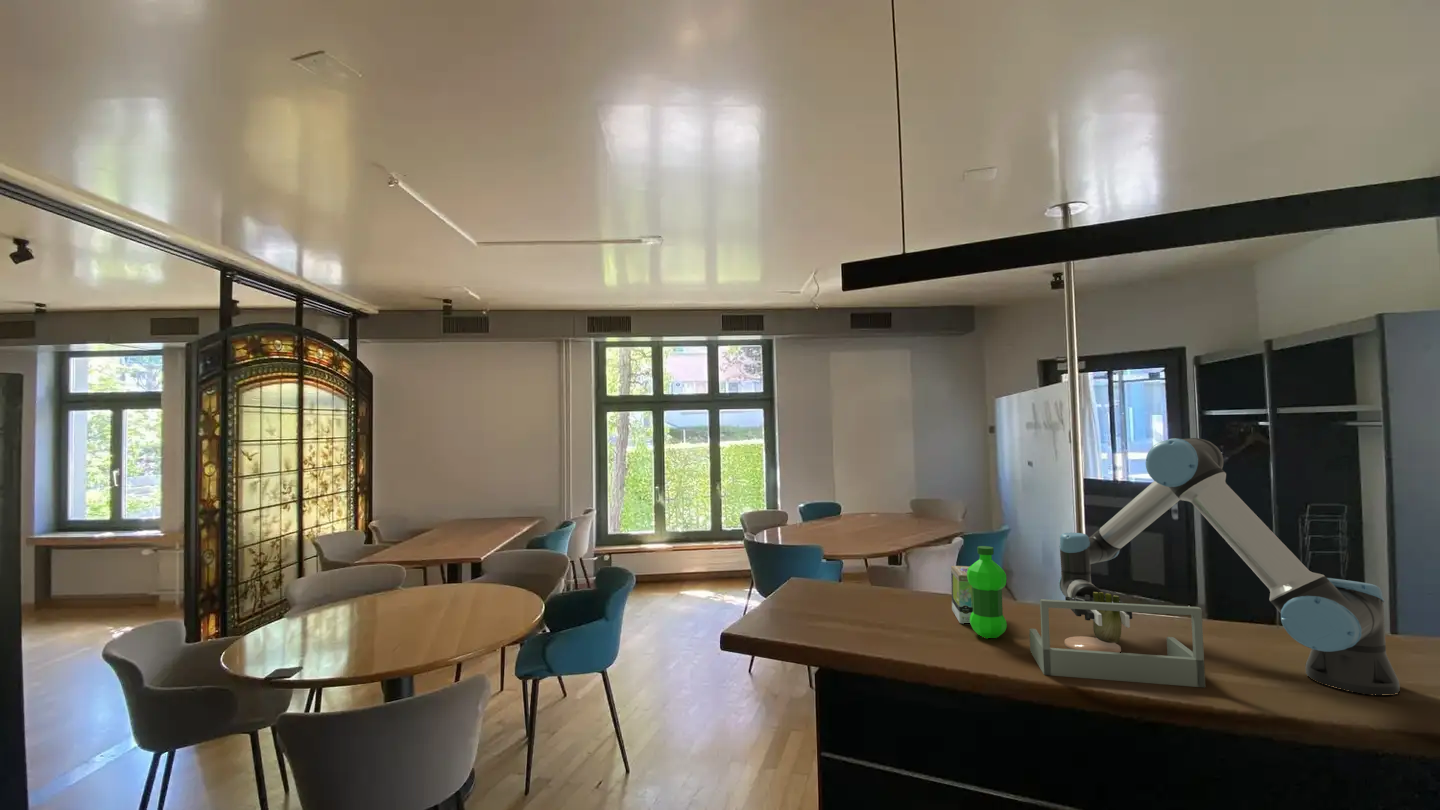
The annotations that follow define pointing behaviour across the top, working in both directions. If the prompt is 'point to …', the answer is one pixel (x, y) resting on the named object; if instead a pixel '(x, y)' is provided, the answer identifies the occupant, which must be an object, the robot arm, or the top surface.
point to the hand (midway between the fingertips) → (1113, 620)
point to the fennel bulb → (1108, 620)
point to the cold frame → (1122, 666)
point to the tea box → (961, 594)
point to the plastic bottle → (987, 595)
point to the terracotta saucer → (1091, 644)
